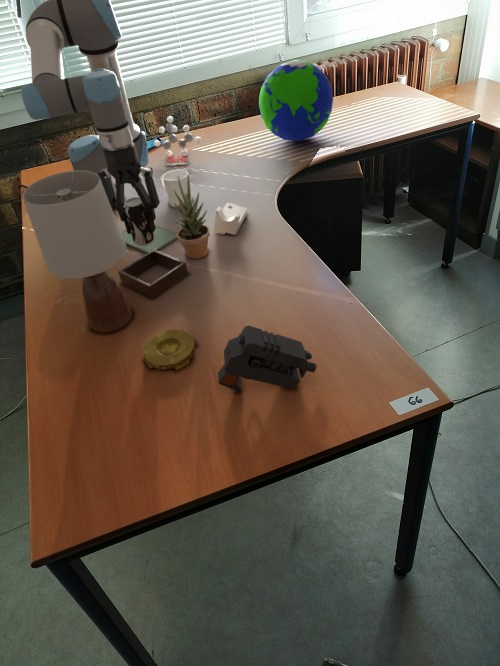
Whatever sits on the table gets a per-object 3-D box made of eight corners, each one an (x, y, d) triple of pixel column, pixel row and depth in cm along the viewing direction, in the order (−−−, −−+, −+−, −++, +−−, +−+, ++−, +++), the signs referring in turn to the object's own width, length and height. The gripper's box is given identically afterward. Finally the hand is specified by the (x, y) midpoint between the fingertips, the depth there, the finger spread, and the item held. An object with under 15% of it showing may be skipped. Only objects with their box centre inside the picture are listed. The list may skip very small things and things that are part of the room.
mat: (114, 239, 163) (114, 237, 163) (142, 223, 170) (142, 221, 169) (150, 254, 154) (150, 253, 153) (178, 237, 160) (178, 235, 160)
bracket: (235, 237, 158) (238, 216, 152) (213, 231, 158) (216, 210, 153) (246, 217, 167) (249, 197, 162) (225, 211, 168) (228, 191, 162)
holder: (121, 283, 143) (117, 271, 141) (156, 260, 151) (153, 249, 148) (152, 298, 136) (149, 286, 134) (188, 274, 143) (185, 262, 141)
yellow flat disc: (187, 373, 113) (186, 366, 112) (138, 370, 116) (135, 363, 114) (200, 337, 122) (199, 330, 121) (154, 335, 124) (152, 328, 123)
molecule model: (154, 173, 207) (143, 140, 194) (159, 149, 216) (149, 116, 203) (201, 170, 205) (193, 136, 192) (205, 146, 213) (198, 112, 200)
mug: (197, 198, 179) (192, 170, 173) (185, 209, 174) (179, 181, 167) (172, 195, 184) (165, 167, 177) (158, 206, 178) (152, 178, 171)
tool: (211, 370, 109) (238, 319, 100) (290, 389, 115) (321, 343, 107) (212, 390, 104) (240, 339, 96) (294, 410, 111) (327, 363, 102)
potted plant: (199, 241, 157) (184, 164, 140) (219, 251, 151) (206, 172, 135) (174, 255, 152) (155, 178, 136) (193, 266, 146) (177, 186, 130)
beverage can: (144, 249, 133) (133, 208, 125) (129, 244, 136) (117, 203, 128) (159, 239, 136) (149, 198, 128) (145, 234, 139) (134, 194, 131)
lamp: (86, 299, 139) (35, 172, 115) (152, 295, 137) (114, 164, 113) (66, 345, 125) (2, 211, 101) (138, 341, 123) (92, 203, 99)
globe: (304, 121, 227) (302, 47, 207) (348, 138, 206) (349, 57, 187) (248, 140, 217) (240, 64, 197) (288, 160, 196) (283, 77, 177)
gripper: (75, 152, 117) (104, 238, 133) (149, 150, 114) (170, 238, 129) (88, 140, 123) (114, 224, 138) (159, 137, 119) (178, 224, 134)
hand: (141, 231), depth 134 cm, fingers closed on beverage can, 6 cm apart
